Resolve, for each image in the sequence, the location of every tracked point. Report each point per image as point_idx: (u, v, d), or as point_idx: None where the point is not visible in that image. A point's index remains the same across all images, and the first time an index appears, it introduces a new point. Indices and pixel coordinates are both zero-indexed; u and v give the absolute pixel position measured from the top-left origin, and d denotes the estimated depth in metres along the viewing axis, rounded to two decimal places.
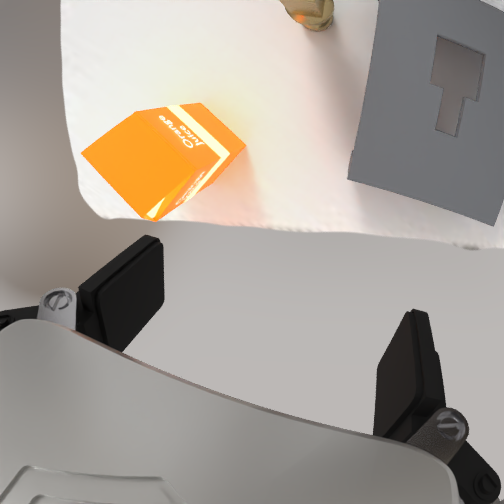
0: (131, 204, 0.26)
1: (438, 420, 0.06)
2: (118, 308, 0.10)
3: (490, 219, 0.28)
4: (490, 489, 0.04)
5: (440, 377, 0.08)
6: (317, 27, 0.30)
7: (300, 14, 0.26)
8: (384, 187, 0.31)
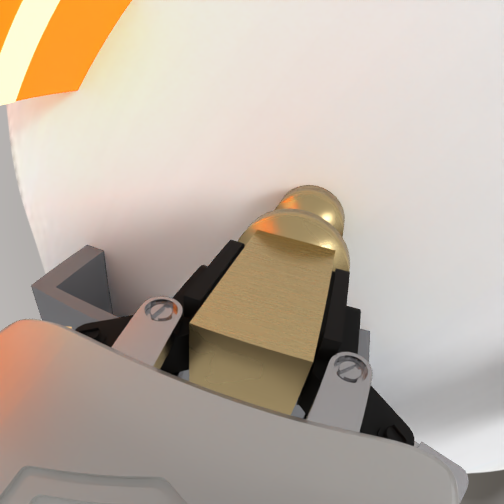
0: None
1: (340, 363, 0.08)
2: None
3: None
4: (396, 441, 0.06)
5: (357, 330, 0.10)
6: None
7: None
8: None
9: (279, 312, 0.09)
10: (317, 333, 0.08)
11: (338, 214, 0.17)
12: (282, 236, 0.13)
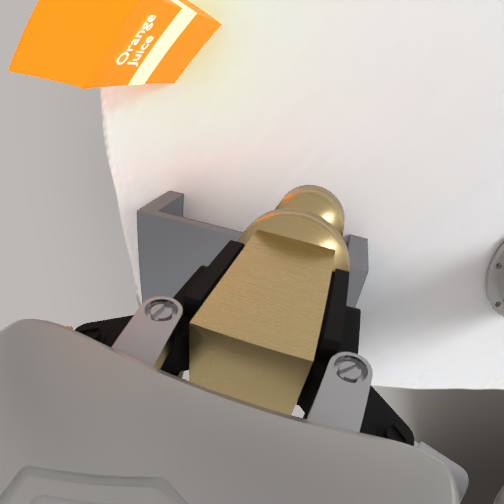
0: (17, 53, 0.14)
1: (340, 363, 0.08)
2: None
3: None
4: (396, 441, 0.06)
5: (357, 330, 0.10)
6: None
7: None
8: (139, 244, 0.35)
9: (279, 311, 0.09)
10: (317, 332, 0.08)
11: (338, 214, 0.17)
12: (282, 236, 0.13)
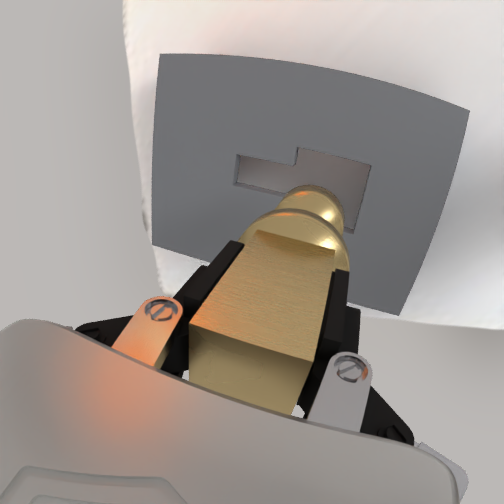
0: None
1: (340, 363, 0.08)
2: None
3: (157, 239, 0.31)
4: None
5: (357, 330, 0.10)
6: None
7: None
8: (157, 99, 0.24)
9: (279, 311, 0.09)
10: (317, 333, 0.08)
11: (338, 214, 0.17)
12: (282, 236, 0.13)
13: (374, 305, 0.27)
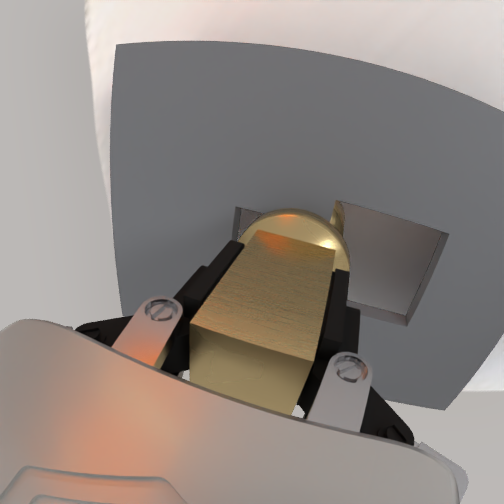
0: None
1: (340, 363, 0.08)
2: None
3: (129, 311, 0.22)
4: (396, 441, 0.06)
5: (357, 330, 0.10)
6: None
7: None
8: (113, 115, 0.15)
9: (279, 311, 0.09)
10: (318, 333, 0.08)
11: (338, 214, 0.17)
12: (282, 236, 0.13)
13: (417, 402, 0.18)
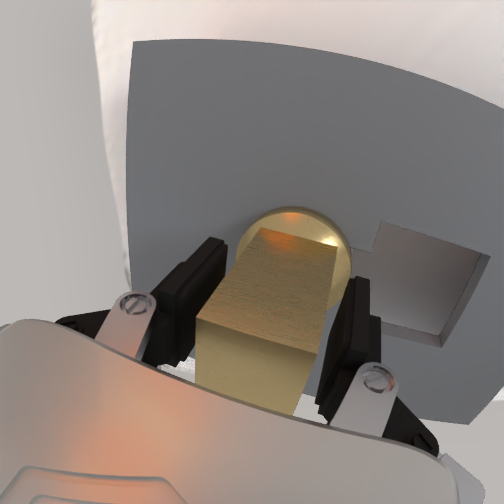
0: None
1: (366, 374, 0.08)
2: (192, 310, 0.10)
3: None
4: (423, 450, 0.06)
5: (379, 339, 0.09)
6: None
7: None
8: (130, 121, 0.14)
9: (283, 305, 0.09)
10: (321, 326, 0.08)
11: None
12: (285, 233, 0.13)
13: (443, 418, 0.16)
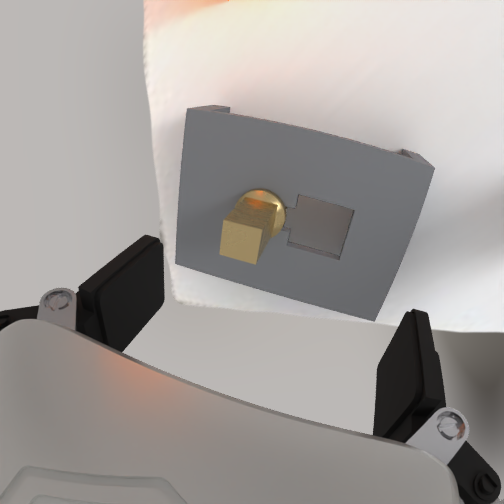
0: None
1: (438, 420, 0.06)
2: (118, 308, 0.10)
3: (180, 260, 0.38)
4: (490, 489, 0.04)
5: (440, 377, 0.08)
6: None
7: None
8: (184, 147, 0.31)
9: (252, 219, 0.27)
10: (264, 224, 0.26)
11: None
12: (255, 199, 0.31)
13: (355, 313, 0.34)
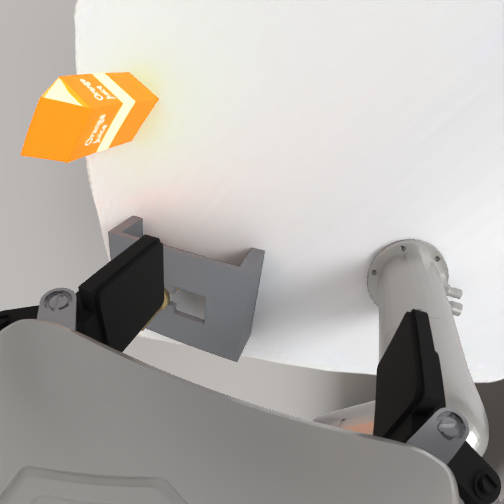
0: (24, 146, 0.30)
1: (438, 420, 0.06)
2: (118, 308, 0.10)
3: None
4: (490, 489, 0.04)
5: (440, 377, 0.08)
6: None
7: None
8: (111, 253, 0.50)
9: None
10: None
11: None
12: None
13: (223, 355, 0.53)
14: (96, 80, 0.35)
